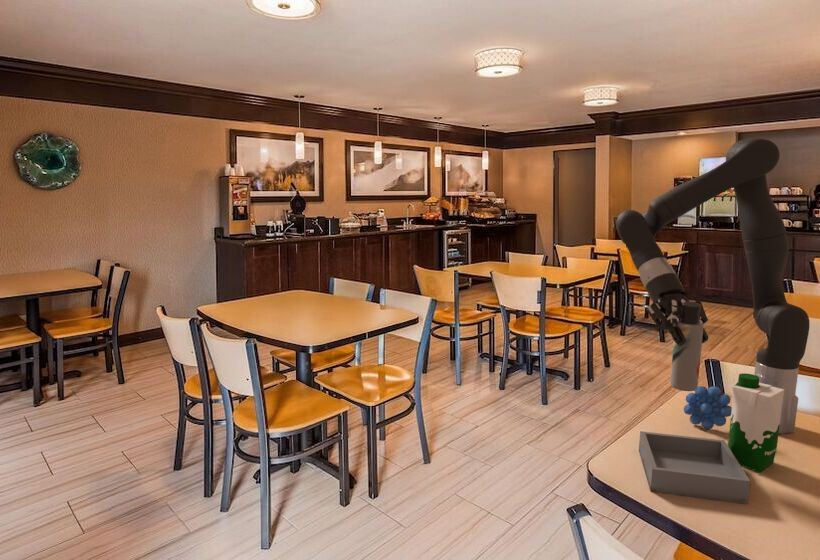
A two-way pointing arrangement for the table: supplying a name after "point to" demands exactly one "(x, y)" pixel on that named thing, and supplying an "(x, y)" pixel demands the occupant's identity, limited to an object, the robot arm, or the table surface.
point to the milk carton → (754, 422)
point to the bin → (692, 467)
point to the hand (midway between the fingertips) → (693, 342)
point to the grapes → (708, 407)
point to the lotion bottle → (687, 349)
